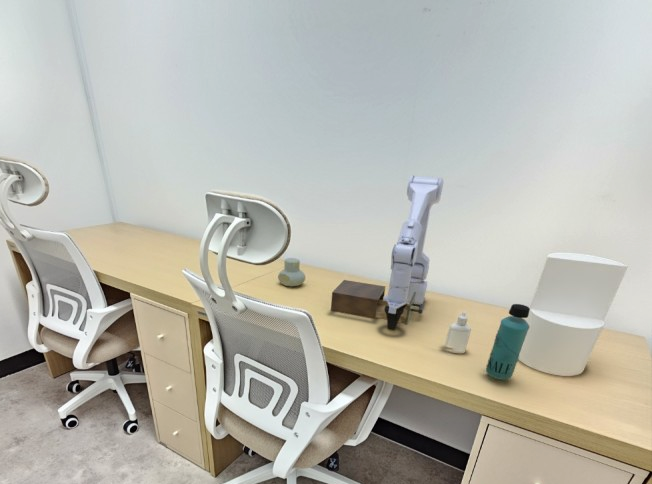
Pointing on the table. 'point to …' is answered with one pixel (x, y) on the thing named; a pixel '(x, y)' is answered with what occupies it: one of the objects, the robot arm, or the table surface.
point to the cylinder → (569, 311)
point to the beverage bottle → (508, 343)
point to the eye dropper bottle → (458, 335)
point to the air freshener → (291, 273)
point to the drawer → (407, 310)
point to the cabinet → (357, 298)
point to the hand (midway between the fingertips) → (392, 326)
